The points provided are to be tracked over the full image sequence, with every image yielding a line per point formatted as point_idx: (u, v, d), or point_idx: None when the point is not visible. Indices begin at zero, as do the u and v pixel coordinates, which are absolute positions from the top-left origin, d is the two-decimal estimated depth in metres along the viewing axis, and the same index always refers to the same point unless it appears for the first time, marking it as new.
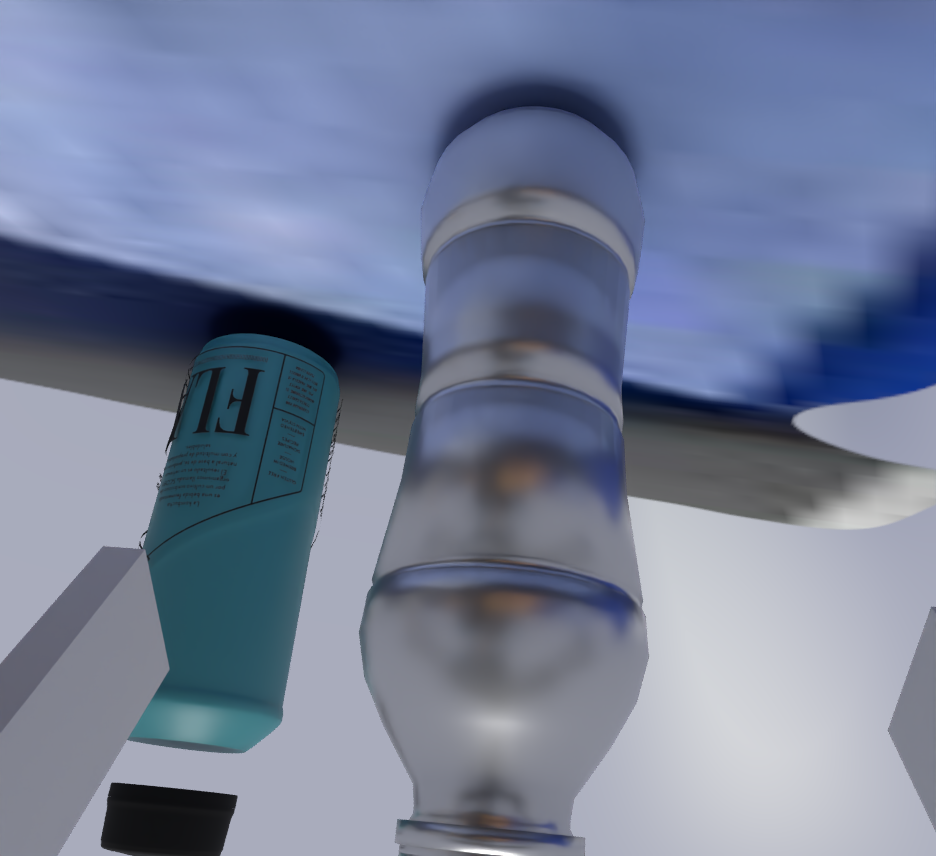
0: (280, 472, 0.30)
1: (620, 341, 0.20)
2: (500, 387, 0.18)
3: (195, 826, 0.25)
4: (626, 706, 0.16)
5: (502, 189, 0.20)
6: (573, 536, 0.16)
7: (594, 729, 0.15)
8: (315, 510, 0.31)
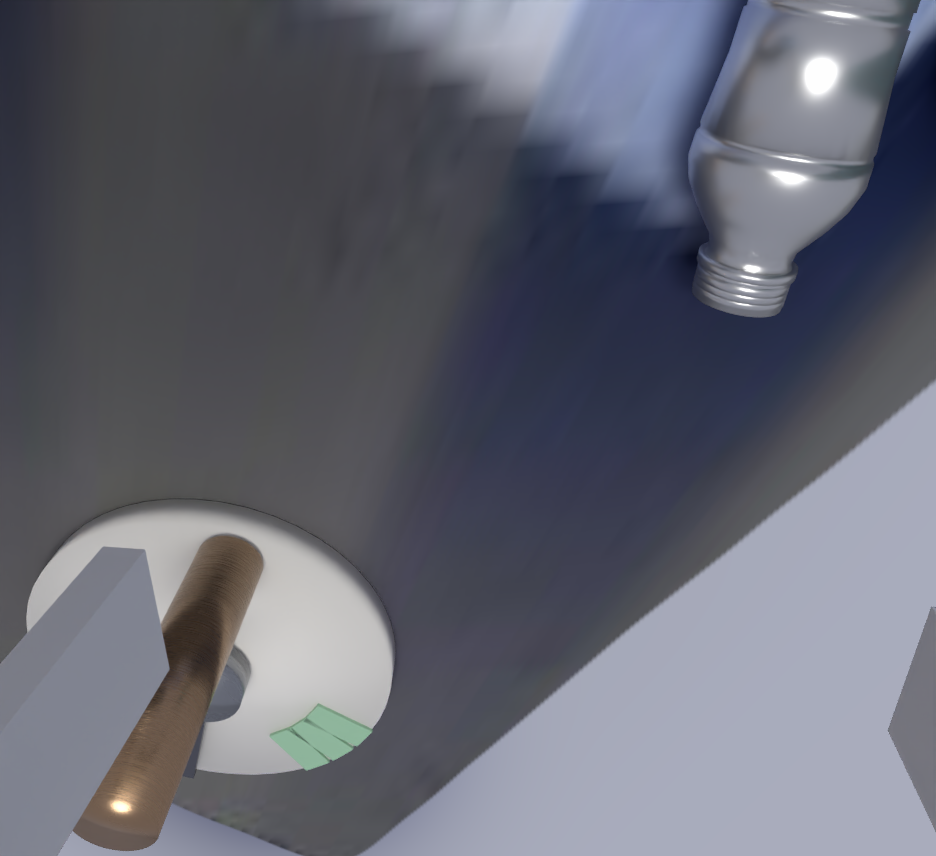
0: None
1: None
2: (753, 4, 0.27)
3: None
4: (769, 218, 0.28)
5: None
6: (736, 121, 0.27)
7: (743, 225, 0.29)
8: None
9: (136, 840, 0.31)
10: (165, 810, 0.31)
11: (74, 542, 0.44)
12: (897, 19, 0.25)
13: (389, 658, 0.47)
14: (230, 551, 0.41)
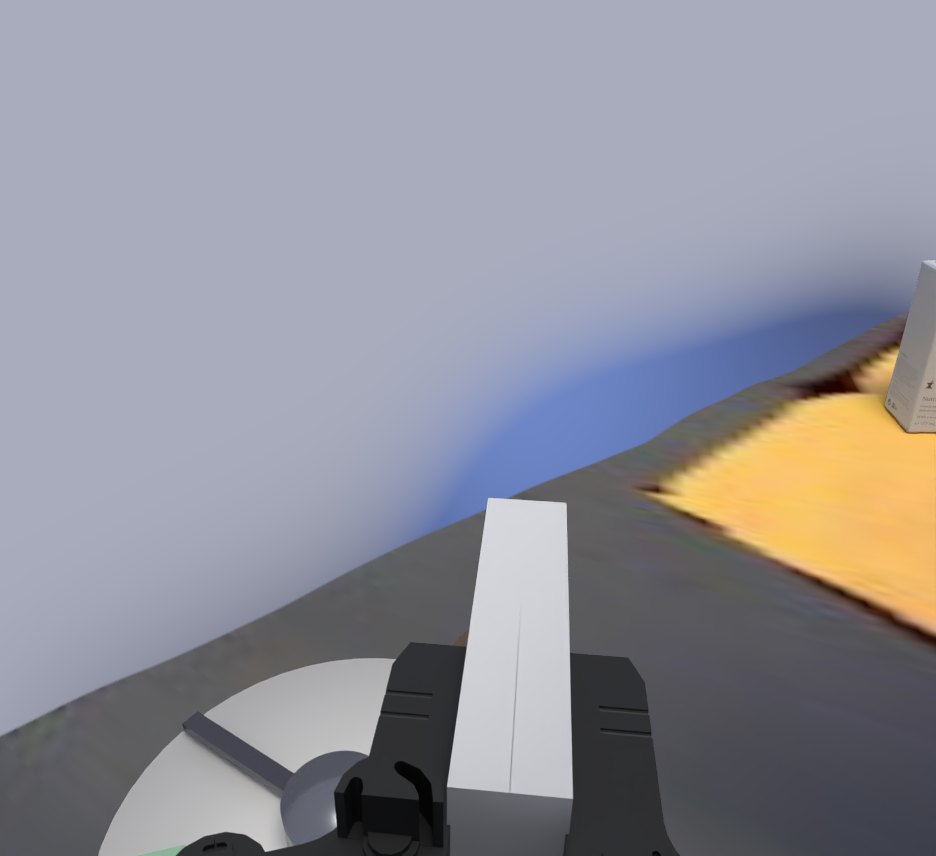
0: None
1: None
2: None
3: None
4: None
5: None
6: None
7: None
8: None
9: None
10: None
11: None
12: None
13: None
14: None
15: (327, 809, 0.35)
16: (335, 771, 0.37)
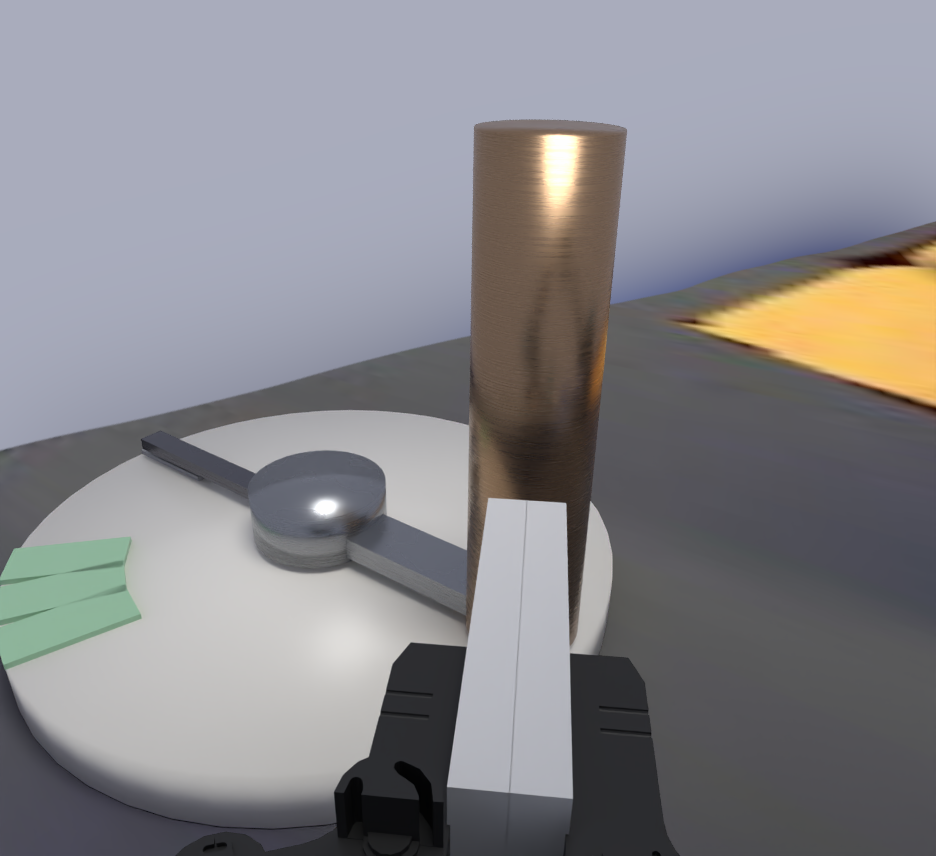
0: None
1: None
2: None
3: None
4: None
5: None
6: None
7: None
8: None
9: (500, 128, 0.18)
10: (526, 170, 0.18)
11: None
12: None
13: (158, 768, 0.21)
14: (571, 619, 0.24)
15: (305, 492, 0.29)
16: (318, 464, 0.30)
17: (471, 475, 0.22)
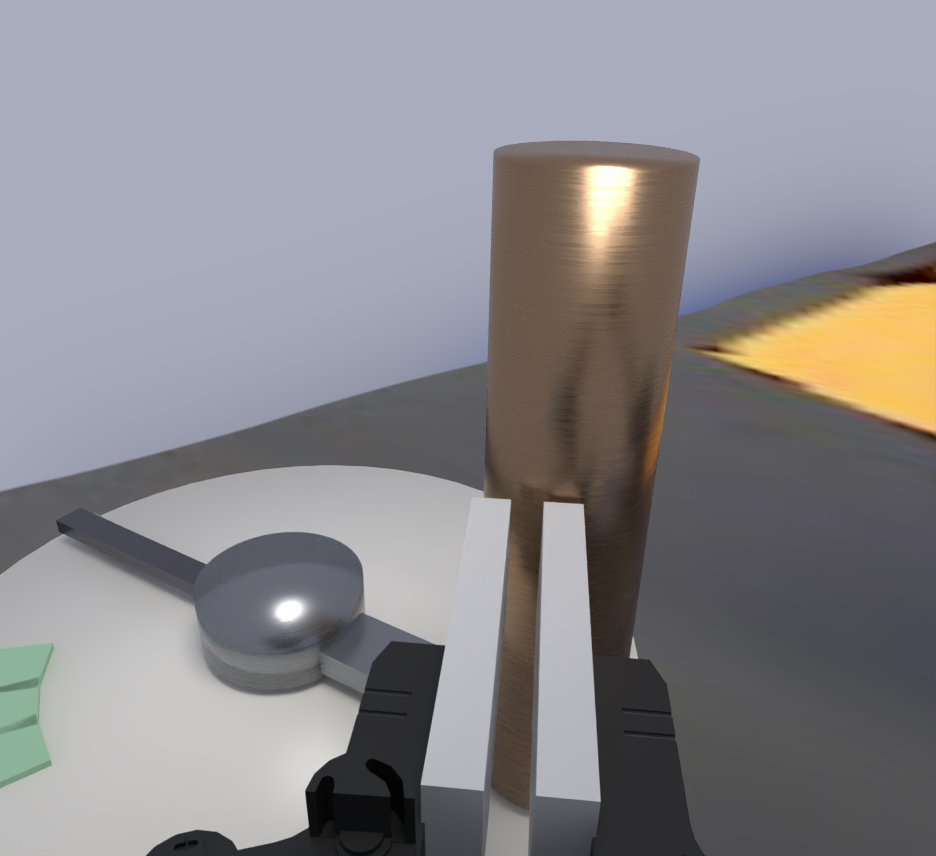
0: None
1: None
2: None
3: None
4: None
5: None
6: None
7: None
8: None
9: (532, 156, 0.14)
10: (576, 215, 0.13)
11: None
12: None
13: None
14: None
15: (265, 593, 0.23)
16: (278, 552, 0.25)
17: None
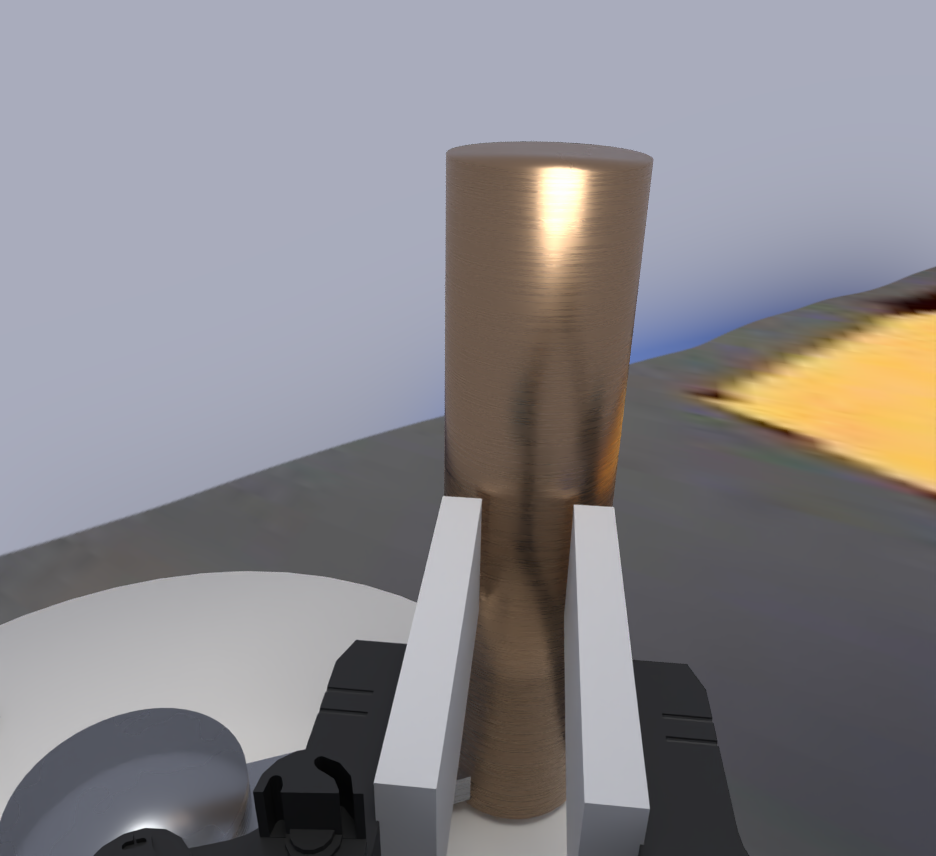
0: None
1: None
2: None
3: None
4: None
5: None
6: None
7: None
8: None
9: (530, 164, 0.13)
10: (615, 215, 0.13)
11: None
12: None
13: None
14: None
15: (132, 823, 0.17)
16: (85, 771, 0.18)
17: (500, 629, 0.17)
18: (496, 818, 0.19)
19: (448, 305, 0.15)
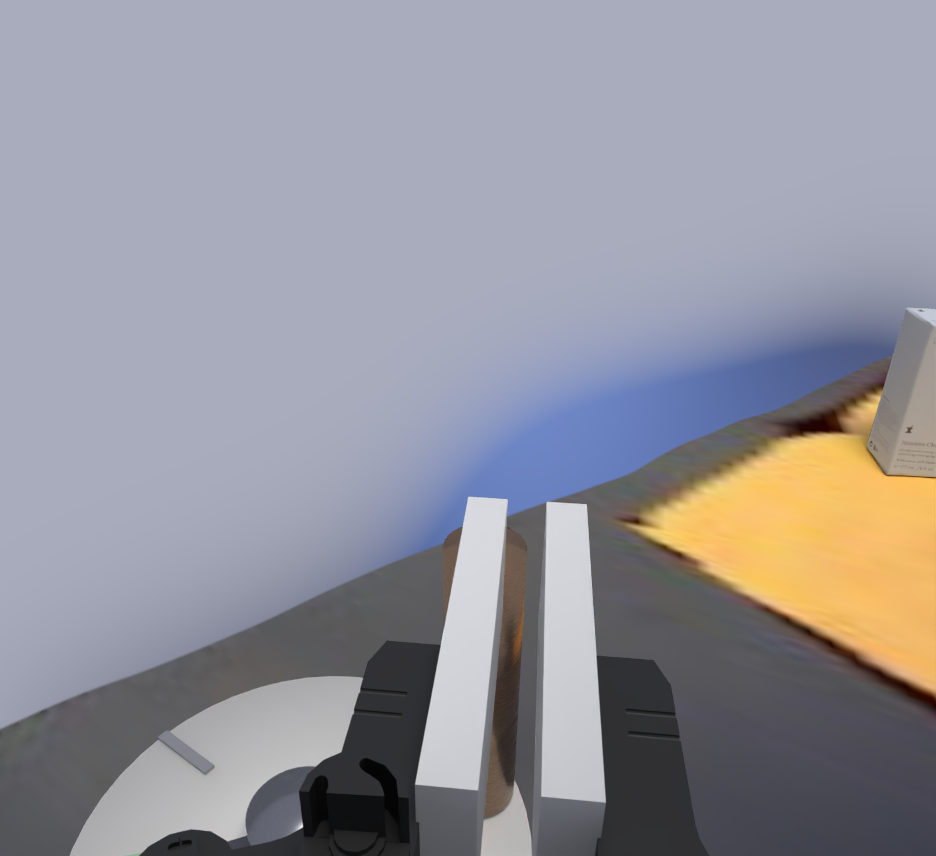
0: None
1: None
2: None
3: None
4: None
5: None
6: None
7: None
8: None
9: None
10: (509, 581, 0.33)
11: None
12: None
13: None
14: None
15: None
16: (277, 798, 0.38)
17: None
18: None
19: (445, 602, 0.35)
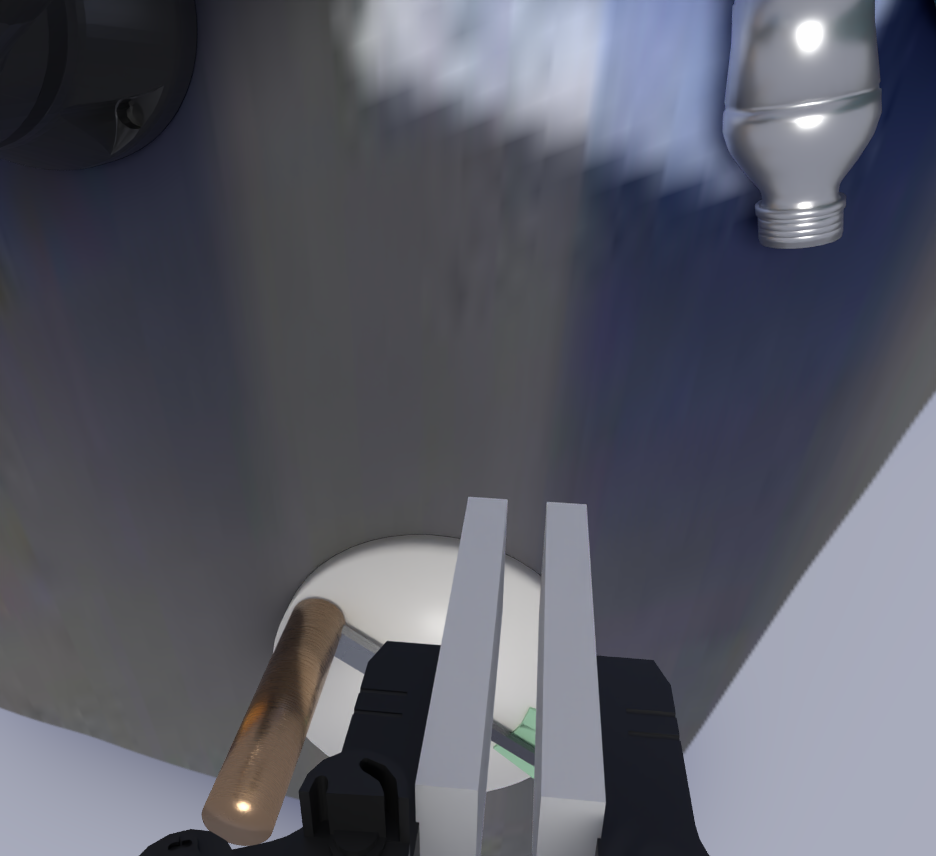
0: None
1: None
2: (739, 0, 0.34)
3: None
4: (801, 157, 0.34)
5: None
6: (750, 91, 0.34)
7: (782, 171, 0.35)
8: None
9: (259, 818, 0.39)
10: (250, 786, 0.39)
11: (300, 593, 0.52)
12: None
13: None
14: (291, 616, 0.51)
15: None
16: None
17: (319, 679, 0.47)
18: (342, 610, 0.52)
19: None
